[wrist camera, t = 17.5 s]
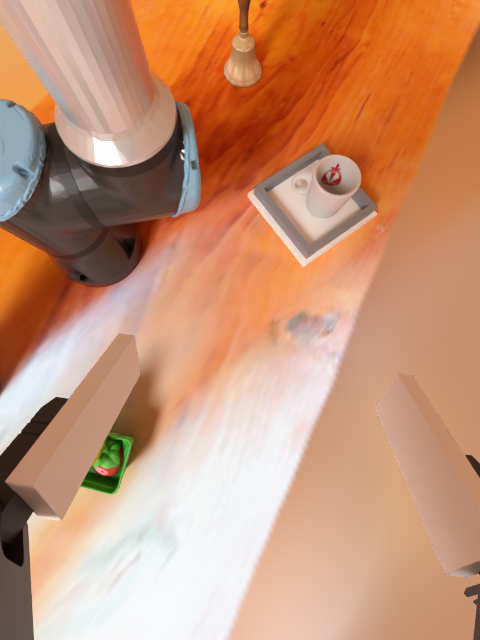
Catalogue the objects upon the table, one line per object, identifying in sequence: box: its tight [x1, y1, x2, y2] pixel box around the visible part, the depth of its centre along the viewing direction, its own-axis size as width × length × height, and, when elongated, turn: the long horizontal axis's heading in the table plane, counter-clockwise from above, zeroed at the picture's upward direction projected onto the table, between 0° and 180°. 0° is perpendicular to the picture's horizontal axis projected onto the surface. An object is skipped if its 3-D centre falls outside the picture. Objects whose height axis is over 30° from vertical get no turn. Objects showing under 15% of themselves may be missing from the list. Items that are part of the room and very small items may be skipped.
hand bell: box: [224, 0, 262, 87], centre depth 47 cm, size 8×8×16 cm
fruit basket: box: [80, 432, 134, 494], centre depth 36 cm, size 11×9×11 cm
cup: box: [291, 154, 361, 218], centre depth 45 cm, size 11×8×8 cm
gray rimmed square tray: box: [248, 143, 378, 267], centre depth 48 cm, size 18×18×3 cm
